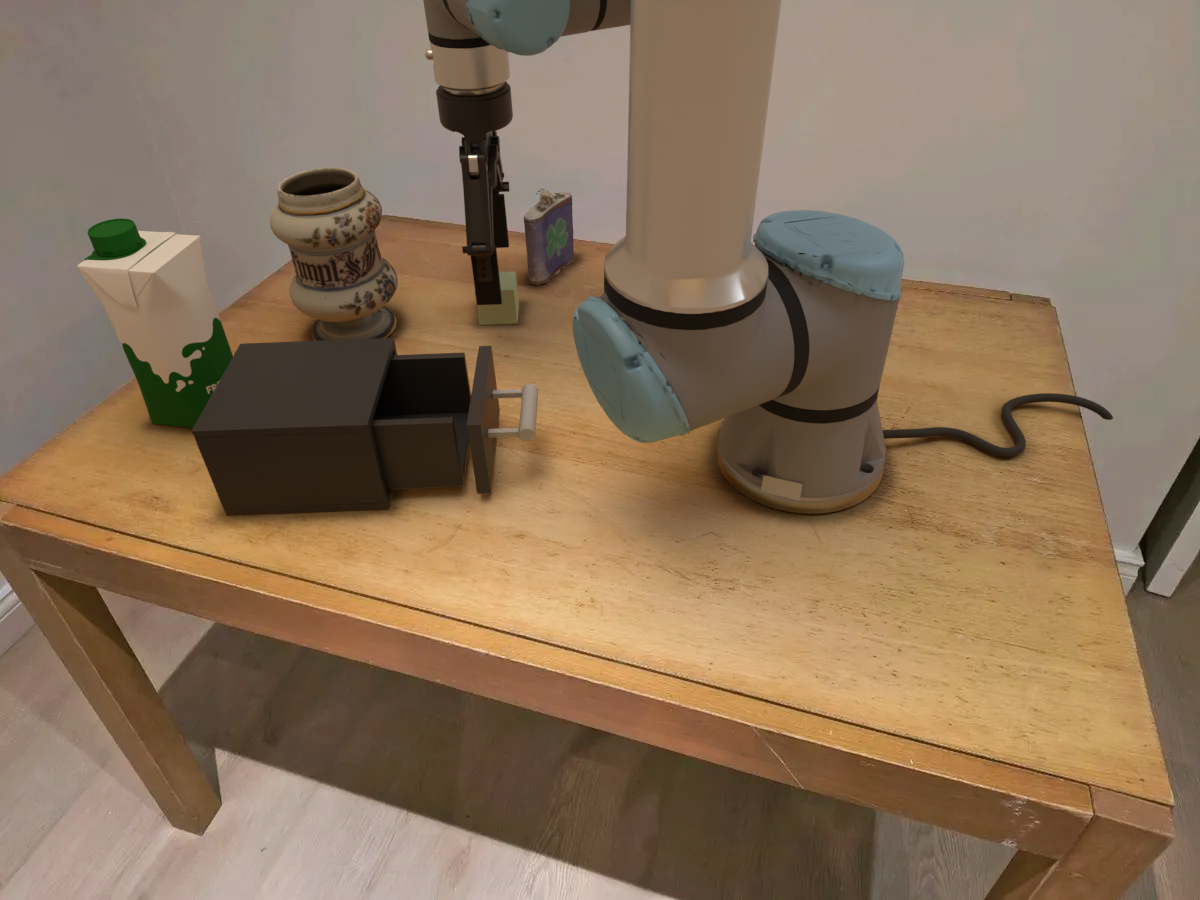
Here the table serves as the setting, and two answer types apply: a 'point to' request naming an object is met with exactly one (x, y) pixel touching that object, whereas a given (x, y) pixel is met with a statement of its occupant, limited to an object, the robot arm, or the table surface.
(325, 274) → the apothecary jar
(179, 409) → the milk carton
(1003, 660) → the table surface
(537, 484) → the table surface
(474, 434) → the drawer
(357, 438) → the cabinet
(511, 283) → the block
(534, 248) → the flask
